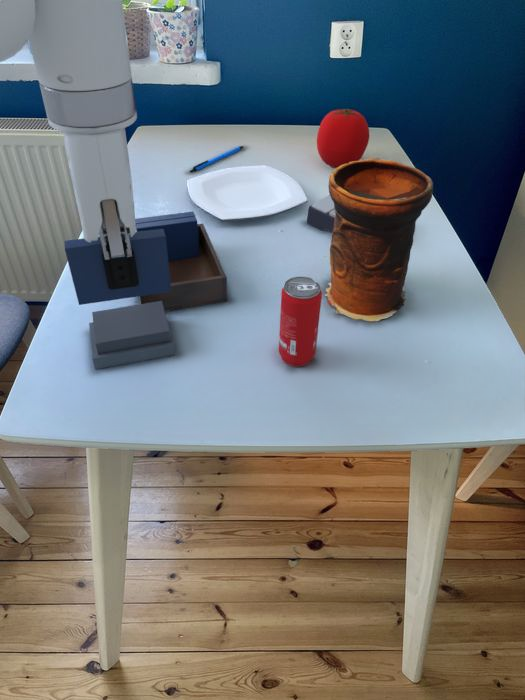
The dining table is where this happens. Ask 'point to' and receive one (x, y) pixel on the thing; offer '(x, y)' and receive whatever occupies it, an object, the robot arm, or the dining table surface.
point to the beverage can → (299, 320)
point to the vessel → (373, 235)
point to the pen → (215, 159)
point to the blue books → (175, 233)
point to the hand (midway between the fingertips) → (122, 279)
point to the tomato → (342, 137)
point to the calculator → (322, 214)
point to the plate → (245, 192)
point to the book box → (194, 279)
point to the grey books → (130, 335)
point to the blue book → (92, 273)
